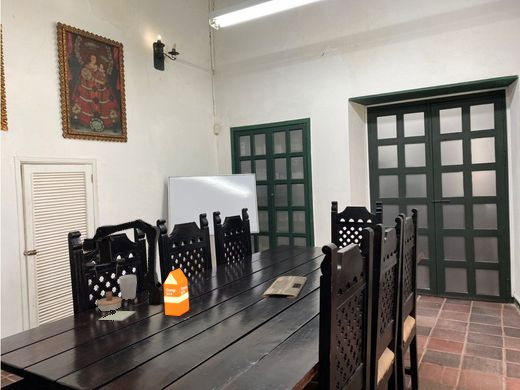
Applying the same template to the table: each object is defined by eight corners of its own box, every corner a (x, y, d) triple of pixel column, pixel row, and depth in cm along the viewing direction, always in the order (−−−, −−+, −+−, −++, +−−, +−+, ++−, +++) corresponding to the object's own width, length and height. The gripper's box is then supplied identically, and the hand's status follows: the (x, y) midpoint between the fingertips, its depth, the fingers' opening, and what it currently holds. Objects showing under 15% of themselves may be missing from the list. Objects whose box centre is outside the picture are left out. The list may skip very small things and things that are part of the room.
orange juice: (165, 314, 182) (162, 272, 181) (175, 308, 190) (173, 267, 190) (179, 315, 179) (177, 272, 179) (189, 309, 188) (187, 268, 187)
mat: (135, 312, 188) (135, 311, 188) (122, 321, 176) (122, 320, 176) (112, 311, 190) (112, 311, 190) (98, 320, 178) (98, 319, 178)
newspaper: (296, 299, 197) (295, 294, 197) (259, 298, 202) (258, 293, 202) (307, 281, 232) (306, 276, 232) (275, 280, 238) (275, 275, 238)
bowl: (124, 305, 199) (123, 298, 199) (113, 312, 190) (112, 305, 189) (106, 305, 201) (106, 298, 201) (94, 311, 192) (94, 304, 191)
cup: (132, 301, 207) (130, 278, 207) (116, 300, 209) (115, 278, 209) (140, 296, 216) (139, 274, 216) (125, 295, 218) (124, 274, 217)
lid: (126, 298, 200) (125, 289, 200) (113, 305, 189) (112, 295, 188) (105, 298, 202) (105, 289, 202) (91, 305, 191) (91, 295, 191)
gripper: (123, 246, 211) (125, 274, 211) (85, 250, 204) (87, 280, 204) (124, 248, 201) (126, 278, 201) (84, 253, 193) (87, 284, 194)
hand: (107, 280), depth 200 cm, fingers open, 9 cm apart
